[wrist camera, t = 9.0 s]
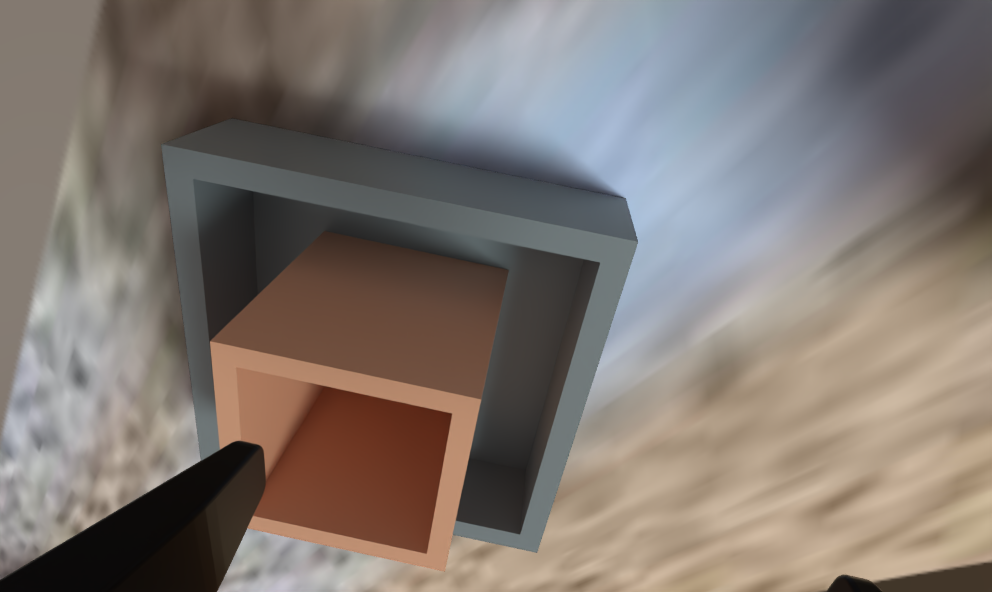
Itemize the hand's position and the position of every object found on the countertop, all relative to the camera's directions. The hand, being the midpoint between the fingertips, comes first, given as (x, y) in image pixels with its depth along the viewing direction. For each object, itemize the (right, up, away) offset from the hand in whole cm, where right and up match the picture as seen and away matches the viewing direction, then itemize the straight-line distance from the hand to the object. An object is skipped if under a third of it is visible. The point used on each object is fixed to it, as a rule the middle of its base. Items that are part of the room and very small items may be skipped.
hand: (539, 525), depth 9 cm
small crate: (-4, +2, +12) cm, 13 cm away
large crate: (-4, +3, +13) cm, 14 cm away
